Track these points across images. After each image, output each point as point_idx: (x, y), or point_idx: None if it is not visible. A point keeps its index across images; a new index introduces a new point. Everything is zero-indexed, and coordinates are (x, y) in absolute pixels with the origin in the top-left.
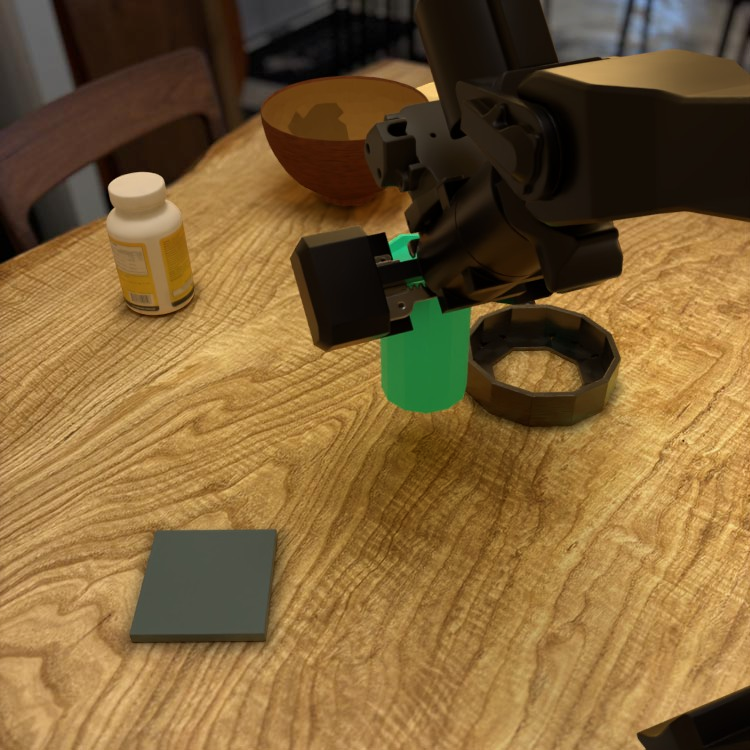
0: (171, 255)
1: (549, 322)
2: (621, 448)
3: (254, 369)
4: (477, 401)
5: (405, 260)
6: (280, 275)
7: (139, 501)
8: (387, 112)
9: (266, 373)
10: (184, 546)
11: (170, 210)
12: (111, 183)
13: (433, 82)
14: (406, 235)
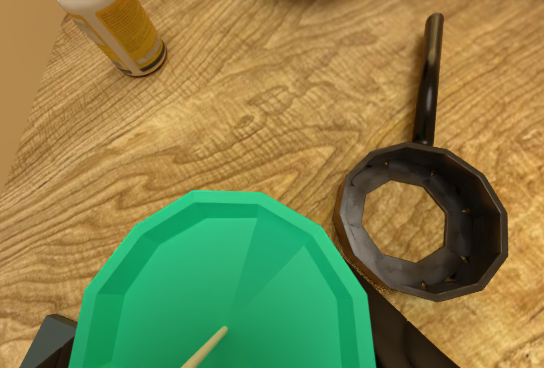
0: (117, 29)
1: (438, 163)
2: (457, 343)
3: (179, 148)
4: (338, 236)
5: (173, 296)
6: (231, 49)
7: (58, 268)
8: None
9: (186, 155)
10: (56, 342)
11: None
12: None
13: None
14: (204, 202)
